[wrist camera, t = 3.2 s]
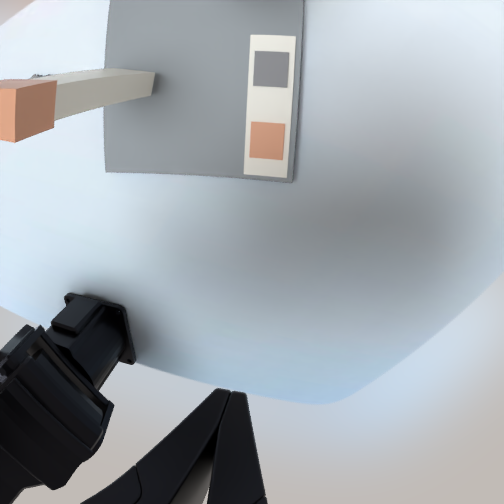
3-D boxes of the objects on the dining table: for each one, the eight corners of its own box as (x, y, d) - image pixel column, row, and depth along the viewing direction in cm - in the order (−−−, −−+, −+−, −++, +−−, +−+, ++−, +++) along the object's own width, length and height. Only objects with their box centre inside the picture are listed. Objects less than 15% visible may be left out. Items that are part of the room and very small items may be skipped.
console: (292, 180, 19) (291, 184, 18) (112, 169, 20) (102, 173, 19) (304, -36, 13) (304, -43, 12) (119, -17, 14) (110, -22, 13)
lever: (153, 99, 16) (15, 142, 8) (106, 92, 17) (-32, 133, 8) (158, 69, 15) (16, 88, 7) (110, 64, 16) (-32, 88, 7)
